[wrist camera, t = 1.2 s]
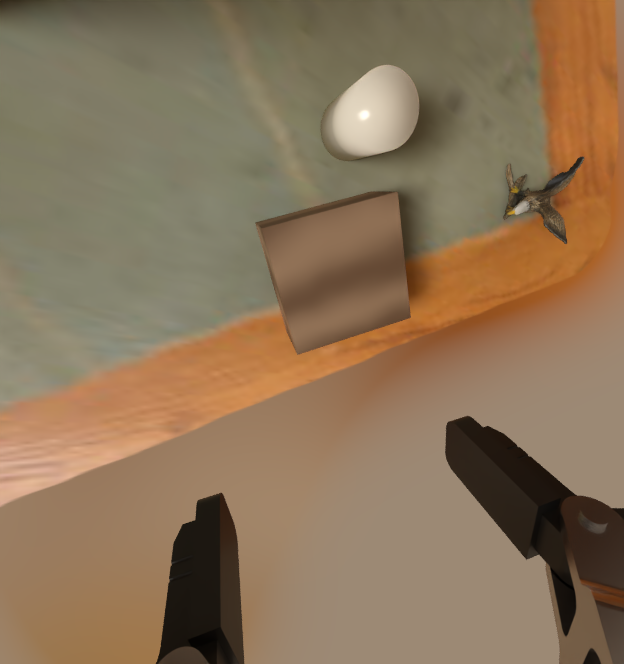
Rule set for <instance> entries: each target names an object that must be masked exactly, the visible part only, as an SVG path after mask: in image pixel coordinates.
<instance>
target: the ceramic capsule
mask: <svg viewBox="0 0 624 664" xmlns="http://www.w3.org/2000/svg"><path fill="white" fill-rule="evenodd" d="M418 116H419V97H418V93H417V89H416V87H415V84H414V82H413V81H412V79H411V78H410V76H409V75H408V74H407V73H406V72H405V71H403V70H402V69H400V68H398V67H396V66H393V65H382V66H378V67H376V68H374V69H372V70H370V71H369V72H368V73H367V74H365V75H364V76H363V77H362V78H360V79H359V80H358V81H357V82H356V83H354V84H353V85H352V86H351V87H349V88H348V89H347V90H346V91H345V92H343V93H342V94H341V95H340V96H338V97H337V98H336V99H335V100H334V101H332V102H331V103H330V104H329V105H328V107H327V108H326V110H325V112H324V114H323V116H322V120H321V137H322V141H323V143H324V146H325V147H326V149H327V150H328V152H329V153H330V154H331V155H332V156H334V157H335V158H337V159H339V160H343V161H352V160H356V159H360V158H364V157H368V156H372V155H376V154H380V153H384V152H388V151H391V150H394V149H397V148H398V147H400V146H401V145H403V144H404V143H405V142H406V141H407V140H408V139H409V137H410V136H411V134H412V133H413V131H414V129H415V126H416V124H417V120H418Z"/></svg>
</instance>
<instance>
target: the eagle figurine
mask: <svg viewBox="0 0 624 664" xmlns="http://www.w3.org/2000/svg"><path fill="white" fill-rule="evenodd" d="M583 160H584V157H580V158H578V159H577V161H576V163H575V164H574V165H573V166H572V167H571V168H570V170H569V171H567V172H565V173H564V172H562V173H560V174H559V175H557V176H555V177H554V178H552V180H550V181H549V182H548V183H547V184H546V186H545V188H544V189H543V190H539V191H530V190H529V188H527V190H526V191H521V189H522V187H523V185H524V183H525V180H526V177H527V175H525V176H522V177H520V178H518V179H517V181H516V182H515V184H514V182H513V179H512V173H511V165H510V164H508V165H507V170H506V177H507V181H508V185H509V191H510V193H509V203H508V205H507V209H506V213H505V215H504V217H503V219H504V220H505V219H506V218H508V216H510V215H511V214H516V215H517V214H521V213H523V212H534V211H536V212H538V213H540V214H541V215H542V217H543V219H544V226H545V227H546V228H548V230H549V231H550V232H551V233H553V234H554V235H555V236H556V237H557V238H559V239H560V240H562V241H563V242H564V243H565V244H567V239H566V230H565V225H564V220H563V218H562V217H561V215H560V214H559V213H558V212H557V211H556V210H555V209H554V208H553V207H552V206H551V205H550V197H551V196H553V195H555V194H557V193H558V192H560V191H562V190H563V189H564V188H565V187H566V186H567V185H568V184H569V183H570V181H571V180H572V178H573V177H574V175H575V173H576V170H577V169H578V168H579V167H580V165H581V164H582V162H583ZM524 197H525V198H524ZM522 198H524V199H522ZM521 199H522V200H521ZM520 200H521V202H519V201H520Z"/></svg>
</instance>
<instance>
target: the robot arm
mask: <svg viewBox="0 0 624 664" xmlns="http://www.w3.org/2000/svg"><path fill="white" fill-rule="evenodd" d="M445 450H446V451H445V453H446V459H447V462H448V464H449V466H450V468H451V469H452V470H453V472H454V473H455V474H456V475H457V477H458V478H459V479H460V480H461V481H462V483H463V484H464V485H465V486H466V487H467V489H468V490H469V491H470V492H471V494H472V495H473V496H474V497H475V498H476V499H477V501H478V502H479V503H480V504H481V506H482V507H483V508H484V509H485V510H486V511H487V512H488V514H489V515H490V516H491V518H492V519H493V520H494V521H495V522H496V524H497V525H498V526H499V527H500V528H501V529H502V531H503V532H504V533H505V534H506V536H507V537H508V538H509V539H510V540H511V542H512V543H513V544H514V545H515V546H516V548H517V549H518V550H519V551H520V552H521V554H522V555H523V556H524V557H525V558H526V559H529V558H532V557H534V556H536V555H540V556H541V557H542V558H543V559H544V560H545V561H546V574H547V579H548V584H549V590H550V595H551V600H552V606H553V611H554V616H555V622H556V627H557V632H558V638H559V647H560V655H559V664H624V508H622V509H621V508H618V509H617V508H610V507H609V506H608V505H606V504H604V503H603V502H600V501H598V500H596V499H593V498H590V497H586V496H577V495H575V494H574V493H573V492H571V491H570V490H569V489H568V488H567V487H565V486H564V485H563V484H562V483H561V482H560V481H558V480H557V479H556V478H555V477H554V476H553V475H551V474H550V473H549V472H548V471H547V470H546V469H544V468H543V467H542V466H541V465H540V464H539V463H537V462H536V461H535V460H534V459H533V458H532V457H529V456H528V454H527V453H526V452H525V451H523V450H522V449H521V448H520V447H517V445H516V444H515V443H514V442H513V441H512V440H511V439H509V438H508V437H507V436H506V435H505V434H503V433H501V432H499V431H497V430H495V429H493V428H491V427H489V426H486V427H482V426H481V425H480V424H479V423H477V422H476V421H475V420H474V419H473V418H472V417H470V416H466V417H462V418H459V419H456V420H453V421H450V422H448V423H447V426H446V449H445ZM171 563H172V566H171V568H170V576H169V579H170V582H169V584H168V593H167V601H166V608H165V617H164V625H163V632H162V640H161V648H160V653H159V656H158V660H157V662H156V664H244V650H243V632H242V614H241V596H240V578H239V559H238V543H237V535H236V529H235V525H234V522H233V519H232V517H231V514H230V511H229V509H228V506H227V504H226V501H225V498H224V496H223V494H222V493H219V494H216V495H213V496H210V497H207V498H203V499H200V500H198V501H197V507H196V520H195V521H192V522H189V523H186V524H183V525H182V527H181V529H180V531H179V533H178V535H177V537H176V539H175V541H174V544H173V552H172V560H171Z"/></svg>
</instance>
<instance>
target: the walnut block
mask: <svg viewBox="0 0 624 664" xmlns="http://www.w3.org/2000/svg"><path fill="white" fill-rule="evenodd" d="M256 227H257V230H258V234H259V237H260V241H261V244H262V248H263V251H264V254H265V258H266V261H267V265H268V268H269V272H270V275H271V279H272V282H273V286H274V289H275V293H276V296H277V299H278V303H279V306H280V310H281V313H282V317H283V320H284V324H285V327H286V331H287V333H288V335H289V338H290V340H291V342H292V344H293V346H294V348H295V350H296V353H297V355H298V354H301V353H304V352H307V351H310V350H314V349H317V348H320V347H323V346H326V345H329V344H332V343H335V342H338V341H341V340H344V339H347V338H350V337H353V336H356V335H359V334H362V333H365V332H369V331H372V330H375V329H378V328H381V327H384V326H387V325H390V324H393V323H396V322H399V321H402V320H405V319H408V318H411V316H410V306H409V297H408V287H407V277H406V268H405V258H404V248H403V239H402V229H401V219H400V210H399V200H398V192H368V193H364V194H361V195H357V196H353V197H349V198H346V199H342V200H338V201H334V202H331V203H327V204H323V205H320V206H316V207H312V208H308V209H305V210H301V211H297V212H293V213H290V214H286V215H282V216H278V217H275V218H271V219H267V220H264V221H260V222H256Z"/></svg>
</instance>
